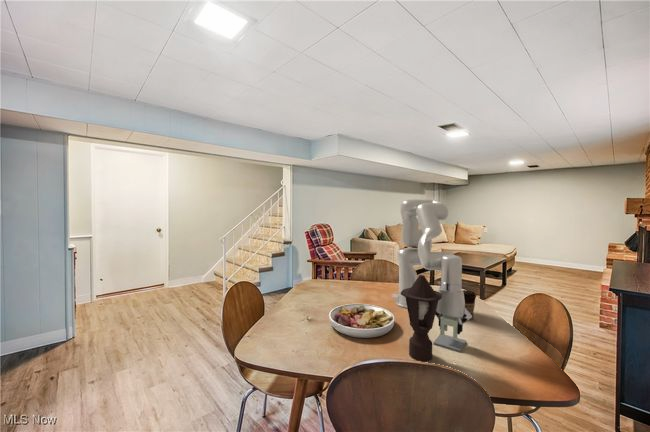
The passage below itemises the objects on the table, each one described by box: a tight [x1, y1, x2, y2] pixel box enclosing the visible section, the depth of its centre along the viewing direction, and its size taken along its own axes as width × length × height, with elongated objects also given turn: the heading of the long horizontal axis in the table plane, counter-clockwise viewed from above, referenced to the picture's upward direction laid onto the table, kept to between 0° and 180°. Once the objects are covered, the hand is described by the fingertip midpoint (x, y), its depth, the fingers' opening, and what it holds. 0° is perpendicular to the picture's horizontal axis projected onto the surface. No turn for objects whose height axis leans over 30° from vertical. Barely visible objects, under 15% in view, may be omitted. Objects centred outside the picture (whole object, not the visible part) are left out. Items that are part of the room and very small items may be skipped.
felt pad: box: [432, 333, 467, 353], centre depth 113 cm, size 10×10×1 cm
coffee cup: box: [461, 289, 477, 321], centre depth 138 cm, size 9×8×13 cm
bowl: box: [328, 303, 395, 339], centre depth 130 cm, size 30×30×8 cm
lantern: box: [401, 274, 442, 363], centre depth 103 cm, size 15×15×30 cm
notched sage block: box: [439, 315, 458, 339], centre depth 112 cm, size 6×6×7 cm
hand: (450, 330), depth 112 cm, fingers closed on notched sage block, 6 cm apart
